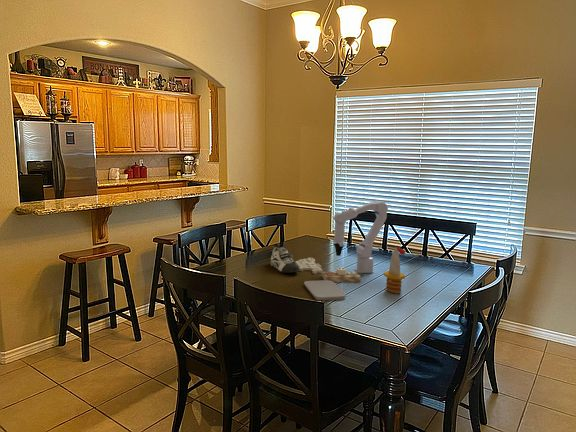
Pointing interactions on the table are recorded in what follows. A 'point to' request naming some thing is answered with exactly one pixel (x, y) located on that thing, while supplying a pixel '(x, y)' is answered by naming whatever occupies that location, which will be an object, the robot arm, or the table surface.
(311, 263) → the decorative sign
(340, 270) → the cream studded block
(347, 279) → the button board
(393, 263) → the toy
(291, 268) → the training shoe
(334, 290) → the tablet
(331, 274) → the button
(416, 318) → the table surface
